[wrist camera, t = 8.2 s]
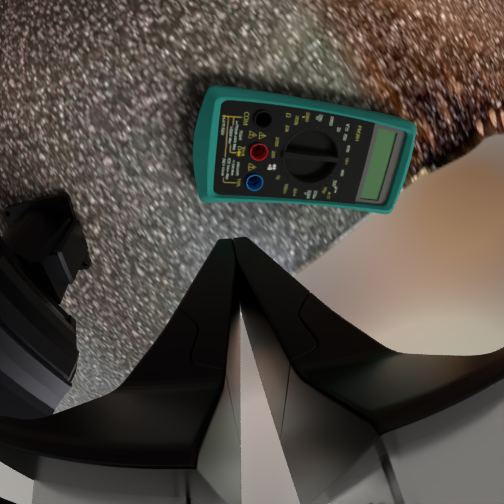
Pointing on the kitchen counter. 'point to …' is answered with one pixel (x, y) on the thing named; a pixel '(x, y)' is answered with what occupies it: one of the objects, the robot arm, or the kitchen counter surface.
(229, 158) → the digital multimeter
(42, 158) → the kitchen counter surface
